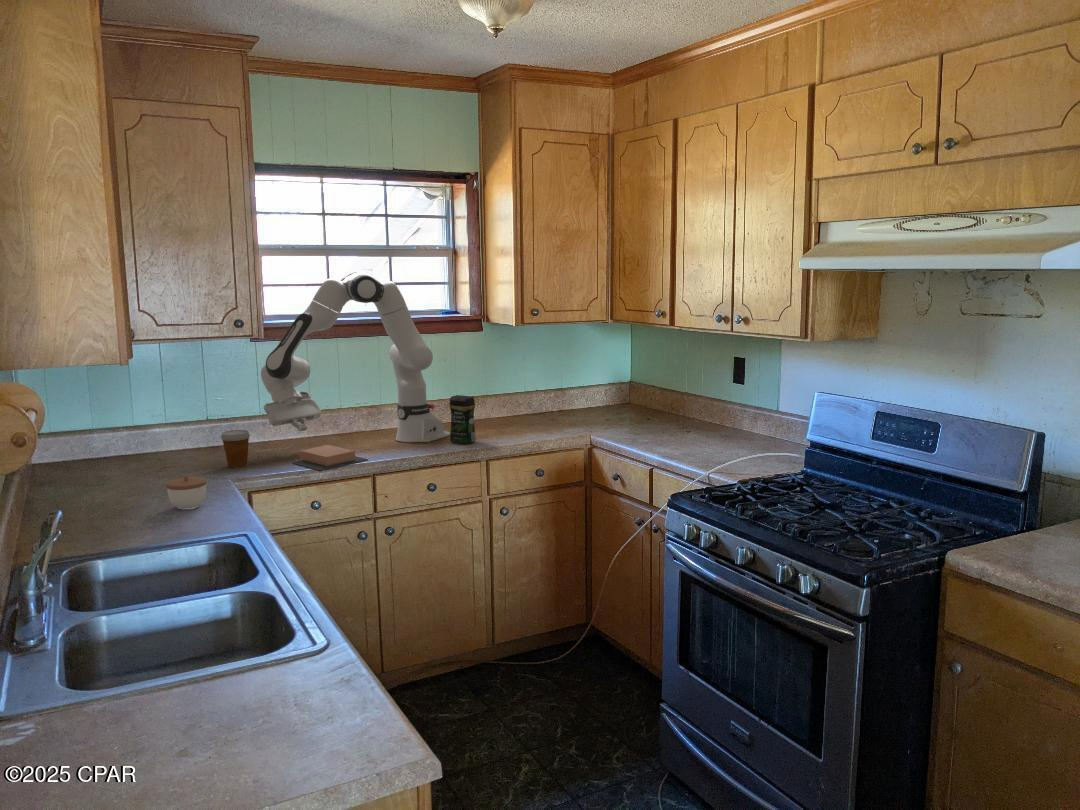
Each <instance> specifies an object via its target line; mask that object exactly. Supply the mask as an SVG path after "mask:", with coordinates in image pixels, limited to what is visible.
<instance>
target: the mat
mask: <svg viewBox="0 0 1080 810" xmlns="http://www.w3.org/2000/svg"><path fill="white" fill-rule="evenodd" d="M366 461H369V459H368V458H364V457H361V456H356V455H355V459H354V460H352V461H348V462H343V463H339V464H335V465H330V466H324V465H321V464H317V463H313V462H309V461H305V460H302V459H300V460H298V461H293V462H291V463H292V465H295V466H299V467H304V468H307V469H311V470H315V471H319V472H322V471H326V470H331V469H336V468H340V467H345V466H349V465H354V464H356V463H361V462H366Z"/></svg>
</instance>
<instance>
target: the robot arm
mask: <svg viewBox="0 0 1080 810" xmlns="http://www.w3.org/2000/svg"><path fill="white" fill-rule="evenodd" d="M349 301H354V302H356V303H363V304H367V303H373V304H374V305H375V307H376V310H377V311H378V315H379V317H380V320H381V322H382V325H383V327H384V330H385V332H386V334H387V336H388V337H389V338H390V339H391V341H392V343H393V344H392V345H391V347H390V348H389V353H388V354H389V359H390V360H391V362H392V366H393V371H394V375H395V379H396V384H397V399H398V400H397V401H398V403H397V406H396V407H397V415H398V420H397V428H396V429H397V430H396V431H397V432H396V436H395V440H396V441H398V442H402V443H430V442H433V441H436V440H439V439H443V438H445V437H446V438H447V437H450V432H449V431H446V430H445V426H444V423H443V421H442V419H440V418H439V417H438V416H436V415H435V414H434V413H432V412H431V409H432V410H434V409H435V404H434V403H428V402H427V384H426V381H425V379H424V377H423V374H422V373H423V372H422V371H425V370H426V369H428V368H430V367H431V365H432V363H433V360H434V359H433V358H434V354H433V352H432V350H431V349H430V348H429V346H428V345H427V344H426V342H425V340H424V338H423V337H422V335H421V333H420V332H419V330H418V329H417V327H416V325H415V323H414V320H413V319H412V316H411V313H410V310H409V308H408V306H407V303H406V300H405V299H404V296H403V294H402V292H401V291H400V288H398V286H397V284H396V283H395V282H393V281H389V280H388V281H387V280H386V281H379V280H378V279H376V278H375V277H374V276H372V275H370V274H368V273H366V272H362V271H361V272H360V271H359V272H357V271H355V272H352V273H350V274H348V275H346V276H345V277H343V278H342V279H338V278H327V279H325V280H324V282H323V283H322V284H321V286H320V287H319V288H318V290H317V291H316V293H315V295H314V297H313V298H312V301H311V302H310V304H309V305H308V306H307V307H306V309H305V310H304V311H303V312H302V313H301V314H299V315H298V316H297V317H296V318H295V319H294V321H293V323H292V324H291V325H290V327H289V328H288V330H287V331H286V333H285V334H284V336H283V337H282V339H281V340H280V341H279V343H278V345H277V346H276V347H275V348H274V349H273V350H272V351H271V352H270V353H269V355H267V357H266V359H265V364H264V366H263V367H262V369H261V370H260V377H261V381H262V384H263V385H264V387H265V389H266V391H267V392H268V393H269V394H270V396H271V400H272V402H266V403H265V404H264V405H263V410H264V412H265V413H266V417H267V419H268V421H269V424H270V425H271V426H273V427H276V426H278V427H279V426H282V425H283V426H284V425H289V424H290V425H291V426H292V427H294V428H296V429H297V431H298V432H303V431H307V430H308V425H307V421H314V420H318V419H319V418H320V417H321V415H322V410H321V409H322V408H320V406H319V404H318V403H317V402H316V401H315V399H313V398H312V394H311V392H309V391H308V392H307V391H301V390H299V389H298V390H297V389H295V388H296V387H298V386H299V385H301V384H303V383H304V382H305V381H307V380H308V379H309V377H310V374H311V365H310V363H309V362H308V360H306V359H304V358H302V357H299V356H296V355H294V353H295V352H296V350H297V349H298V347H299V346H300V344H301V343H302V341H303V340H304V338H305V337H306V336H308V335H309V334H311V333H314V332H321V331H322V332H323V331H326V330H329V329H331V328H332V327H333V326H334V325H335V323H336V322H337V321H338V318H339V316H340V314H341V313H342V310H343V308H344V306H345V305H346V304H347V303H348V302H349Z"/></svg>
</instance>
